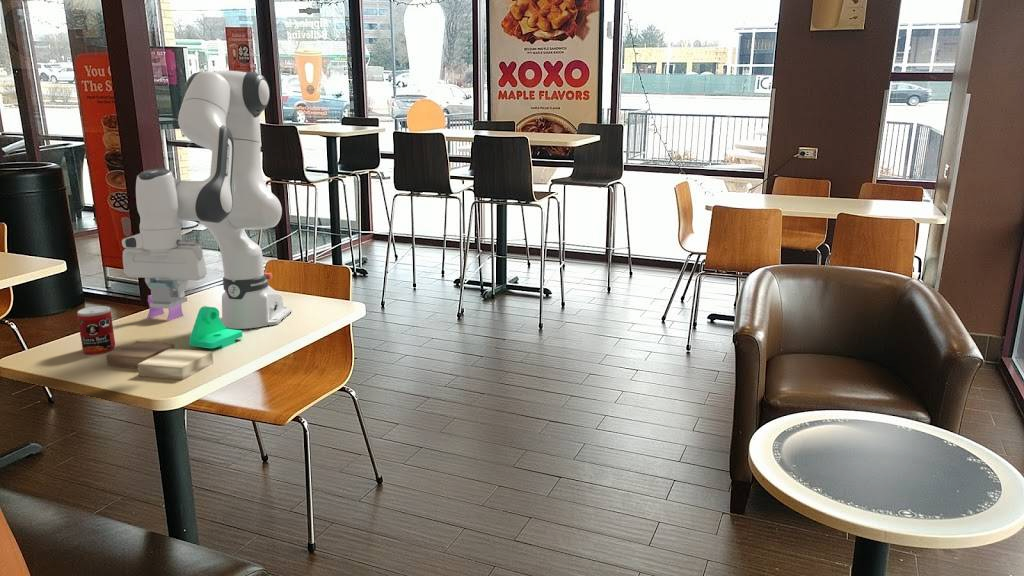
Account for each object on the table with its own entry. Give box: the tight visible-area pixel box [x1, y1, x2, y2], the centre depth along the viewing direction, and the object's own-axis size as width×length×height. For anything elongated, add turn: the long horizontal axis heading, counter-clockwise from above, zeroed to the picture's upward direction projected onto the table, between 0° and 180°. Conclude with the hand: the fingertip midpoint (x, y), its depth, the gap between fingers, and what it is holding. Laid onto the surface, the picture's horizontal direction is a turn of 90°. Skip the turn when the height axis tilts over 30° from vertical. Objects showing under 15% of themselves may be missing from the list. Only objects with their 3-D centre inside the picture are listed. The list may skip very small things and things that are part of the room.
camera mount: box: [189, 305, 244, 349], centre depth 207 cm, size 12×8×10 cm, turn 157°
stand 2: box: [137, 348, 214, 381], centre depth 188 cm, size 12×12×3 cm
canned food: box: [76, 305, 116, 355], centre depth 202 cm, size 8×8×11 cm
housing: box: [146, 279, 188, 310], centre depth 184 cm, size 5×7×6 cm
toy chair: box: [146, 278, 184, 322], centre depth 232 cm, size 8×9×15 cm
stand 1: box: [105, 340, 175, 369], centre depth 195 cm, size 11×11×3 cm
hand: (168, 296), depth 184 cm, fingers closed on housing, 5 cm apart
